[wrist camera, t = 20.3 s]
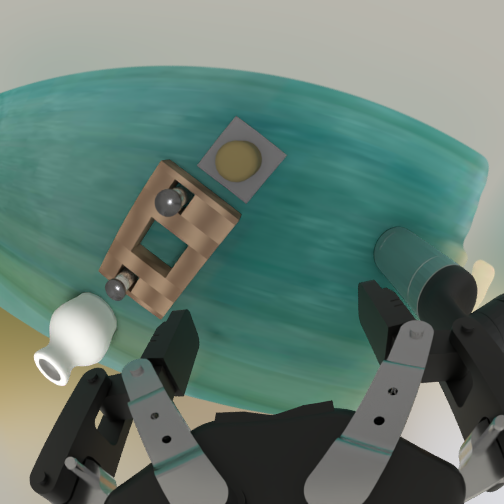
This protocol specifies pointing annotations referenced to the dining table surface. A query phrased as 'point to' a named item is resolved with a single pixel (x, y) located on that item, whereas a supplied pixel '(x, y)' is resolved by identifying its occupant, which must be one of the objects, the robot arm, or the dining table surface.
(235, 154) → the cork
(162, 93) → the dining table surface
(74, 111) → the dining table surface
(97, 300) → the vase
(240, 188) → the pad
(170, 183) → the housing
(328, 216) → the dining table surface
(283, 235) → the dining table surface
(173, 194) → the plunger
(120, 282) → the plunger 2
